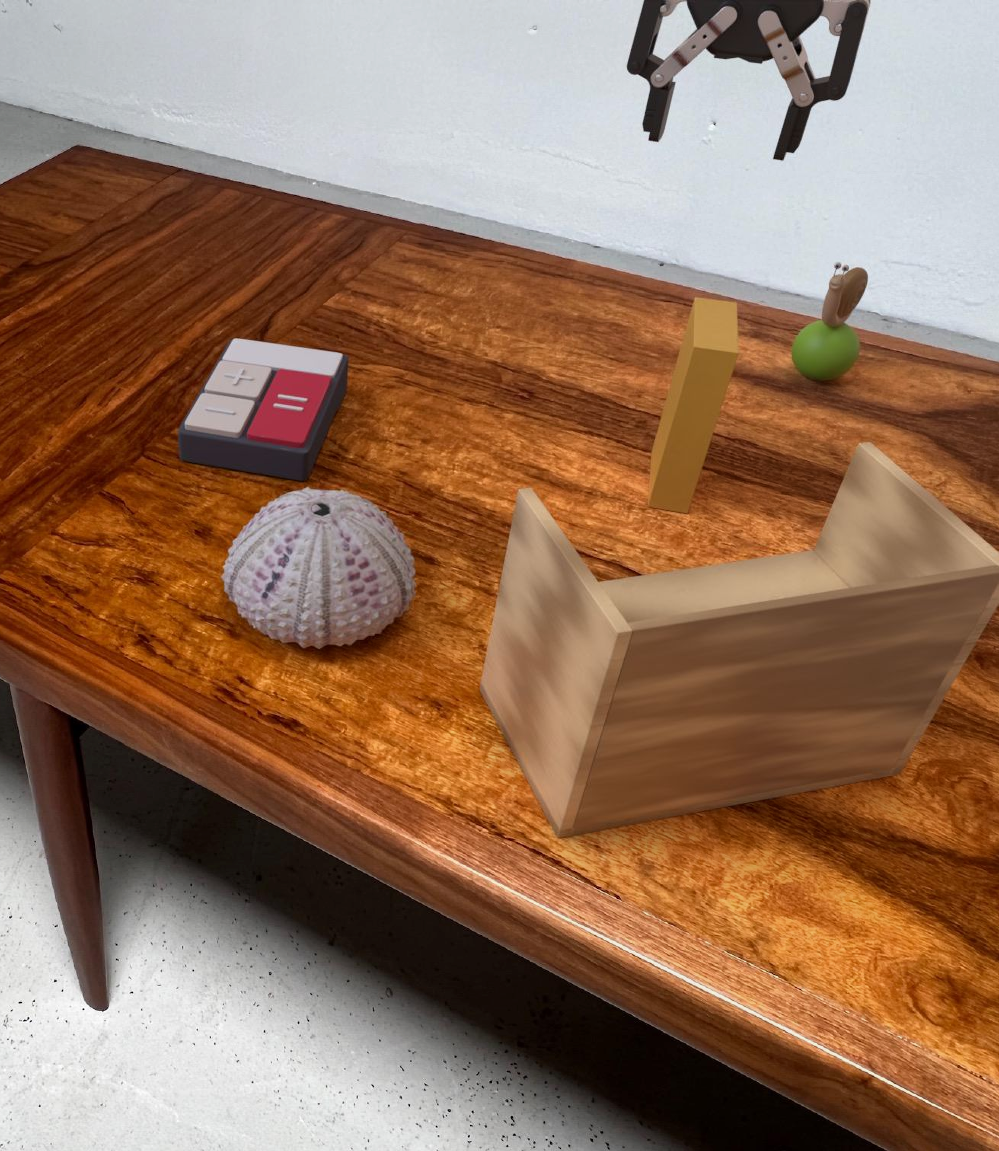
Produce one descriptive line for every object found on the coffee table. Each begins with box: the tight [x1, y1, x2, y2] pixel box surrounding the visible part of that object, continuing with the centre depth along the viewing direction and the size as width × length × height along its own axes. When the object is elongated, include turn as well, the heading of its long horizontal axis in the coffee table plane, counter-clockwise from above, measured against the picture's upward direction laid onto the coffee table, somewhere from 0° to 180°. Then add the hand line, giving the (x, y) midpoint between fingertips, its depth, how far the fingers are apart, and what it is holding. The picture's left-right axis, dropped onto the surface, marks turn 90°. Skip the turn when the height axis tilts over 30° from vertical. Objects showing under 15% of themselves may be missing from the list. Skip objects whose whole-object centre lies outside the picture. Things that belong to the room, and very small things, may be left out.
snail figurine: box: [790, 261, 869, 382], centre depth 99 cm, size 5×6×12 cm
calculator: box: [177, 338, 349, 482], centre depth 96 cm, size 11×4×15 cm
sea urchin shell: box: [220, 486, 417, 650], centre depth 77 cm, size 13×14×8 cm
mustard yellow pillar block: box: [647, 296, 740, 514], centre depth 86 cm, size 3×8×14 cm, turn 162°
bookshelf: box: [479, 441, 999, 839], centre depth 65 cm, size 12×22×16 cm, turn 102°
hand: (715, 147), depth 81 cm, fingers open, 8 cm apart
